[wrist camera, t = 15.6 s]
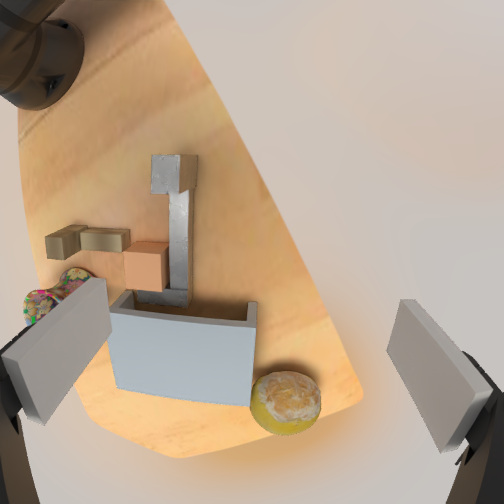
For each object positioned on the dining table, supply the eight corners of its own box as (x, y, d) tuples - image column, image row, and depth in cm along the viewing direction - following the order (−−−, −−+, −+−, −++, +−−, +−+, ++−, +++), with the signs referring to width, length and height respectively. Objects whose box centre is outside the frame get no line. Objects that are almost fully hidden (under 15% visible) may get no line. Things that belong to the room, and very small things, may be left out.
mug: (68, 317, 47) (35, 349, 37) (54, 265, 44) (15, 290, 34) (129, 318, 46) (101, 356, 36) (116, 261, 44) (81, 290, 33)
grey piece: (143, 154, 39) (114, 155, 30) (197, 155, 39) (180, 155, 30) (146, 292, 45) (123, 321, 36) (194, 296, 45) (180, 328, 36)
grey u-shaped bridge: (125, 287, 45) (102, 311, 37) (257, 299, 44) (256, 328, 37) (134, 358, 48) (117, 388, 41) (251, 372, 48) (249, 406, 41)
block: (137, 241, 43) (123, 251, 38) (171, 243, 43) (160, 254, 38) (139, 274, 44) (126, 288, 39) (171, 277, 44) (161, 292, 39)
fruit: (314, 401, 50) (321, 444, 40) (251, 403, 50) (248, 446, 41) (319, 354, 47) (330, 397, 37) (249, 356, 47) (246, 400, 38)
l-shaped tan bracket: (72, 244, 43) (47, 258, 36) (71, 224, 42) (44, 236, 35) (130, 248, 43) (109, 264, 36) (129, 227, 42) (107, 240, 35)
